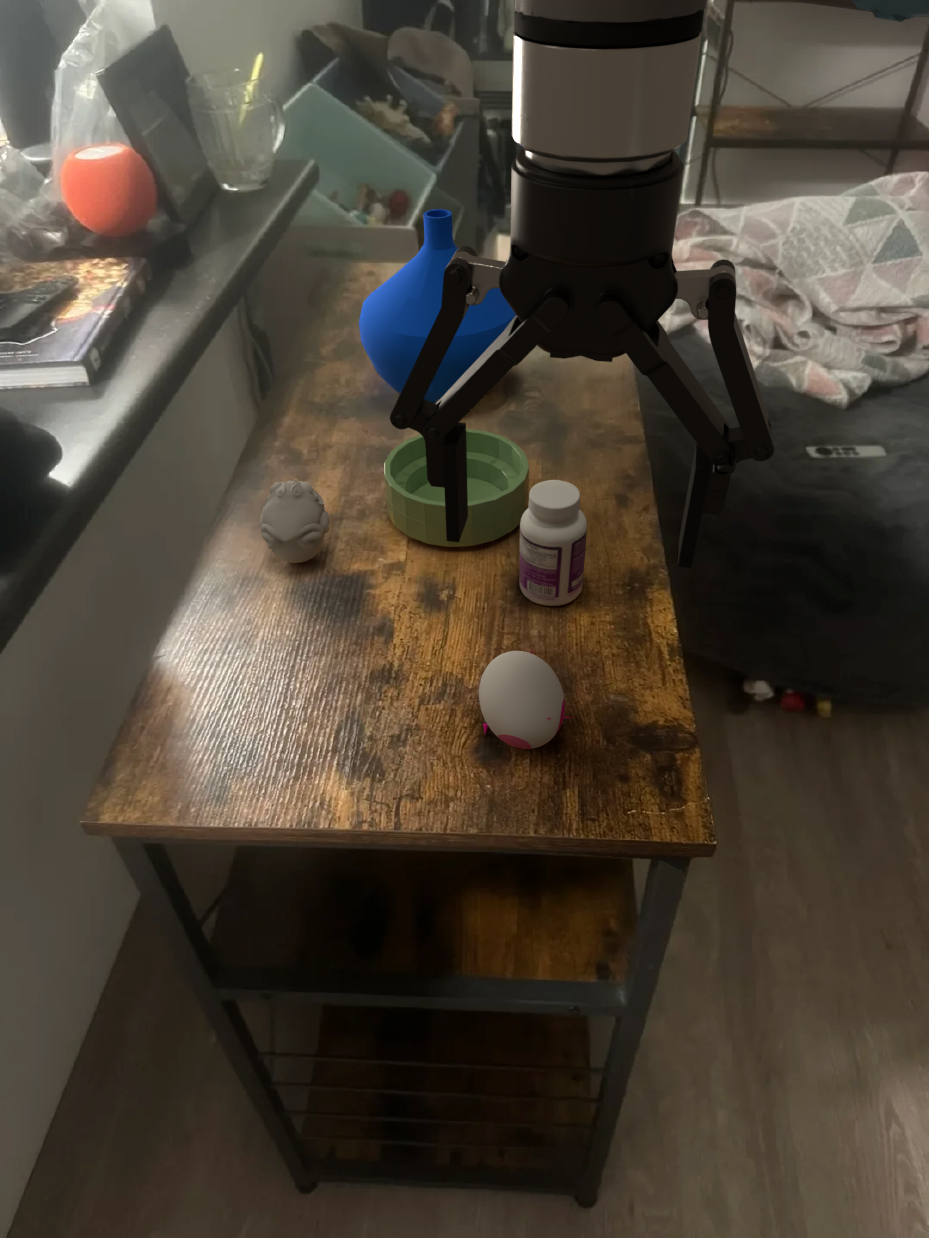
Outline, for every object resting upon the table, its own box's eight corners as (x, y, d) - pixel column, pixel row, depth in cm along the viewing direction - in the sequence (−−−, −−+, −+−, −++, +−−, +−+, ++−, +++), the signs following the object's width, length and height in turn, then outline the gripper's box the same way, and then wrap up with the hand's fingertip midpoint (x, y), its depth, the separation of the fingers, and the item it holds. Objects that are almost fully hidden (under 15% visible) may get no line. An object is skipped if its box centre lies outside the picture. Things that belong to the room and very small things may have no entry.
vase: (483, 341, 111) (482, 178, 99) (550, 404, 99) (559, 226, 86) (345, 369, 106) (325, 201, 94) (397, 440, 94) (382, 257, 81)
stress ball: (554, 790, 63) (613, 736, 59) (461, 762, 59) (519, 703, 56) (534, 709, 68) (588, 656, 65) (449, 679, 65) (500, 621, 61)
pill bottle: (561, 561, 77) (568, 467, 71) (593, 596, 74) (603, 500, 67) (507, 579, 76) (508, 484, 69) (537, 616, 72) (541, 519, 66)
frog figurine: (339, 532, 81) (329, 467, 77) (328, 579, 76) (317, 513, 72) (274, 532, 82) (260, 467, 77) (258, 579, 76) (243, 513, 72)
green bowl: (539, 481, 87) (541, 436, 84) (510, 561, 78) (511, 514, 74) (411, 465, 90) (408, 421, 86) (369, 541, 80) (364, 495, 77)
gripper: (888, 136, 39) (782, 526, 53) (349, 120, 43) (384, 486, 57) (917, 187, 33) (790, 606, 48) (297, 163, 38) (350, 555, 52)
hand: (568, 541), depth 52 cm, fingers open, 13 cm apart
